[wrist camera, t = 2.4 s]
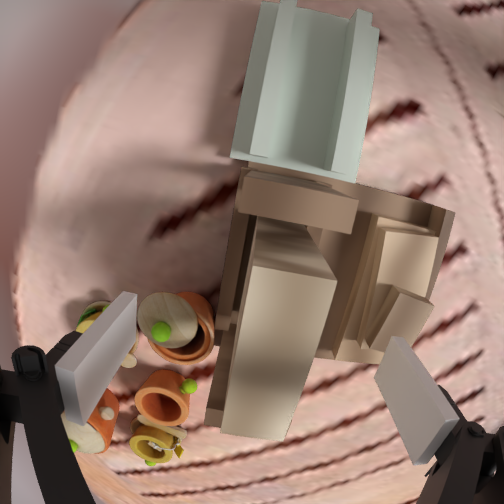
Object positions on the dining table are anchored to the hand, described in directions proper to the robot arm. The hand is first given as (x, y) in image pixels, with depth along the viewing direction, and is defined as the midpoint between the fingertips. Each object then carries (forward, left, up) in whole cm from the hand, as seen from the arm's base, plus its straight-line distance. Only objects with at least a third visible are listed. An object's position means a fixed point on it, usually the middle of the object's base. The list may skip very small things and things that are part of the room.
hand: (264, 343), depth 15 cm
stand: (-1, -15, -13) cm, 20 cm away
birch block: (0, 0, -12) cm, 12 cm away
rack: (-6, 0, -13) cm, 14 cm away
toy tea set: (+11, +15, -13) cm, 23 cm away
